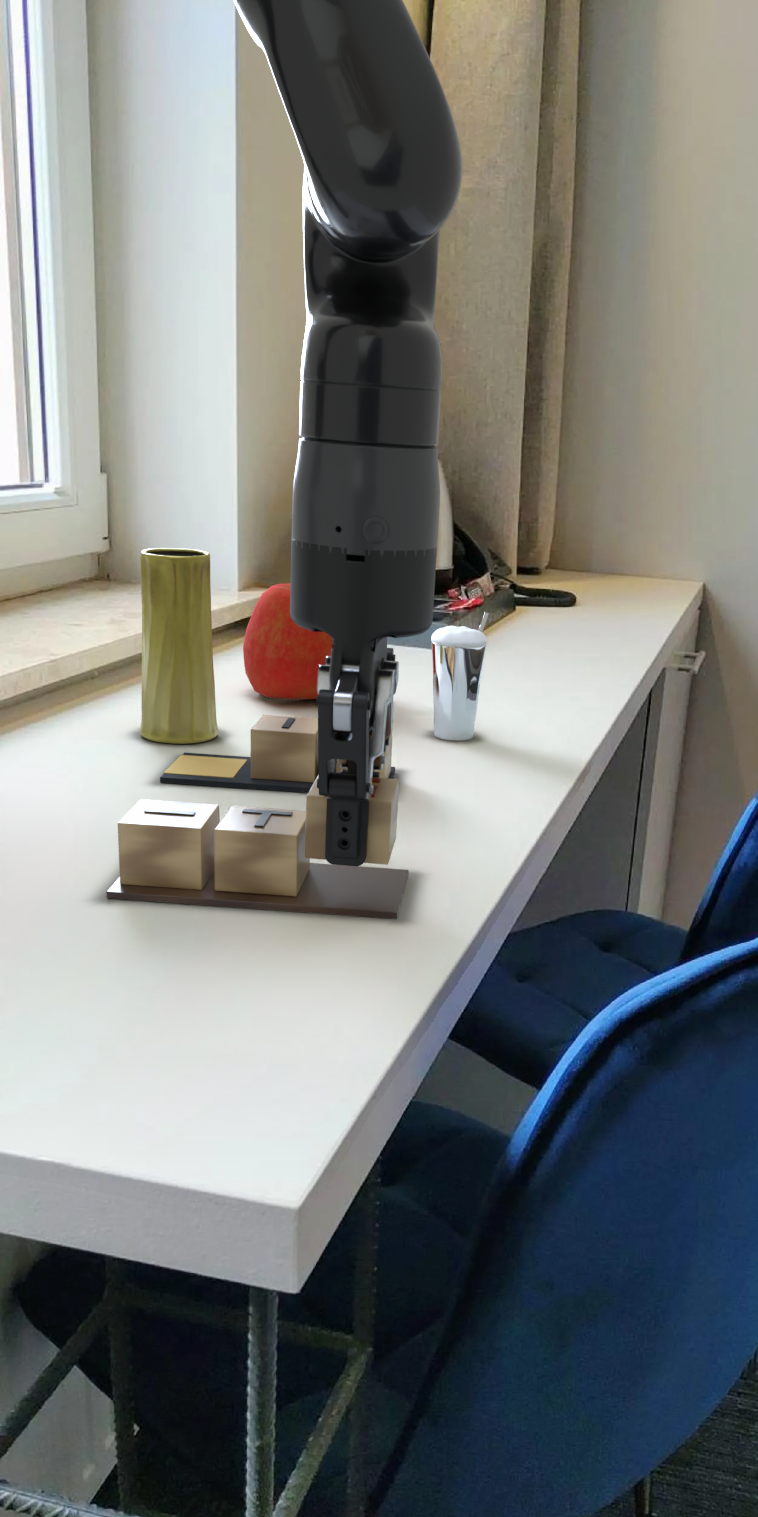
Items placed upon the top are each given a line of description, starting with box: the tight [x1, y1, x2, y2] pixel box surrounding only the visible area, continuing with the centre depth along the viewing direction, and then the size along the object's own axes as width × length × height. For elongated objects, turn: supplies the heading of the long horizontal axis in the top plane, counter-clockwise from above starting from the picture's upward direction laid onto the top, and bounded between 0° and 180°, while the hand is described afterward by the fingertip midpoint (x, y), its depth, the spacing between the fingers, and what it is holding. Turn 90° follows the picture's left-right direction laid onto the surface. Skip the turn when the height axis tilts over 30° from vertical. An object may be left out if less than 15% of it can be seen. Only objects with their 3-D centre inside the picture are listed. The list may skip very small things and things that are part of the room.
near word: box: [106, 798, 410, 920], centre depth 75 cm, size 16×7×4 cm, turn 87°
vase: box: [139, 547, 219, 745], centre depth 104 cm, size 6×6×14 cm
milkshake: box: [430, 611, 490, 742], centre depth 110 cm, size 4×5×10 cm
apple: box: [242, 582, 333, 701], centre depth 120 cm, size 11×11×11 cm
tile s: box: [305, 774, 400, 866], centre depth 74 cm, size 5×5×4 cm
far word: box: [159, 714, 396, 794], centre depth 96 cm, size 16×7×4 cm, turn 87°
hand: (351, 846), depth 75 cm, fingers closed on tile s, 4 cm apart
